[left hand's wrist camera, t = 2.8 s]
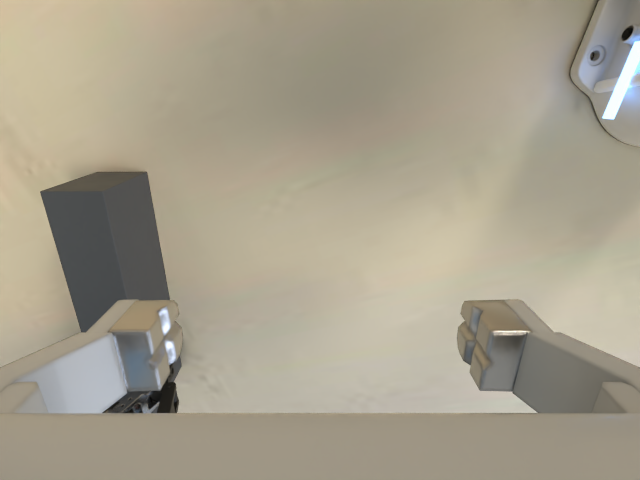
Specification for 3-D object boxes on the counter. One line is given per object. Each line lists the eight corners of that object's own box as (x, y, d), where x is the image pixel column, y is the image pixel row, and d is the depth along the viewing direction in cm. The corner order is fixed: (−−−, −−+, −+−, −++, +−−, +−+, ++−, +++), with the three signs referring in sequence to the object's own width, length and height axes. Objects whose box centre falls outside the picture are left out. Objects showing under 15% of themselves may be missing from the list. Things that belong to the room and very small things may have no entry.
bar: (97, 171, 38) (39, 191, 30) (147, 171, 38) (102, 191, 30) (141, 366, 47) (106, 419, 40) (181, 366, 47) (154, 419, 40)
